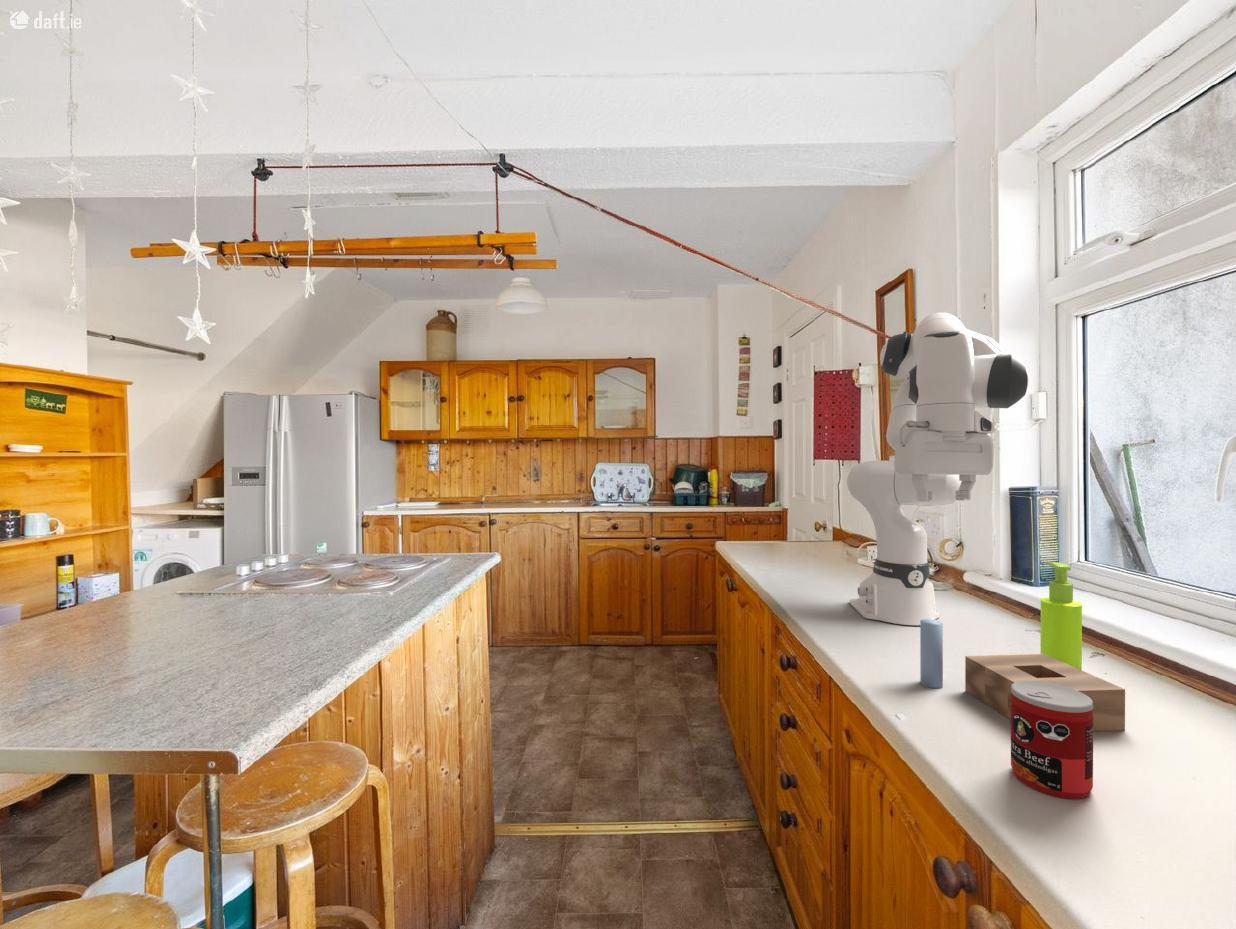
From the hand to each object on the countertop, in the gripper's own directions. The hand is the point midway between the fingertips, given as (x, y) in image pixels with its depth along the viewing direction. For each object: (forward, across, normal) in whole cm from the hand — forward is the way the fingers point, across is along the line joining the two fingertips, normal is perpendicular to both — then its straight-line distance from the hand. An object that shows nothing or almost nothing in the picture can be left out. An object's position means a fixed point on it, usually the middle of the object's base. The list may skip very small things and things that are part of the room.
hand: (944, 500), depth 94 cm
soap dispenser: (+32, +25, -4) cm, 41 cm away
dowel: (+32, -2, +1) cm, 32 cm away
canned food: (+33, -14, -25) cm, 44 cm away
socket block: (+32, +5, -12) cm, 35 cm away
